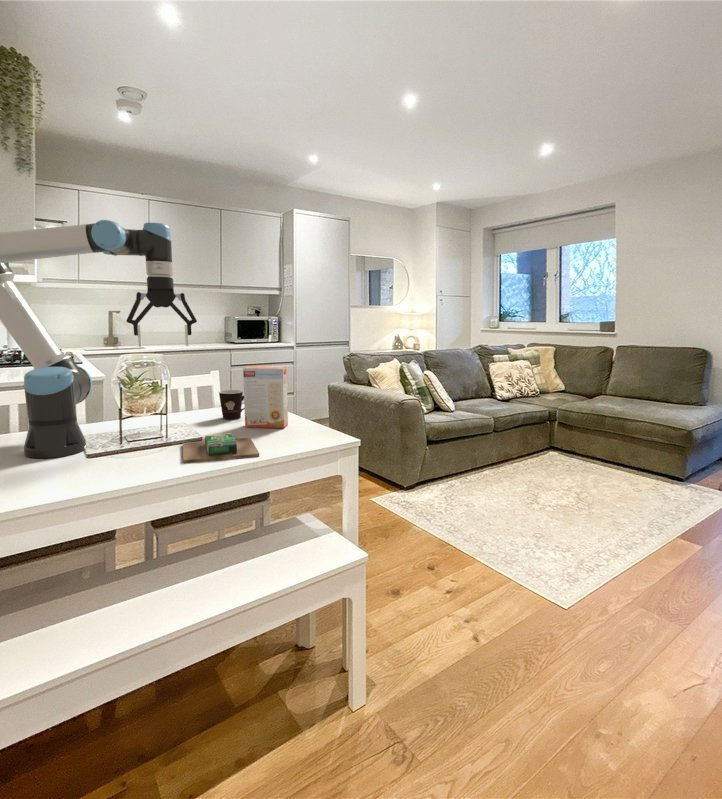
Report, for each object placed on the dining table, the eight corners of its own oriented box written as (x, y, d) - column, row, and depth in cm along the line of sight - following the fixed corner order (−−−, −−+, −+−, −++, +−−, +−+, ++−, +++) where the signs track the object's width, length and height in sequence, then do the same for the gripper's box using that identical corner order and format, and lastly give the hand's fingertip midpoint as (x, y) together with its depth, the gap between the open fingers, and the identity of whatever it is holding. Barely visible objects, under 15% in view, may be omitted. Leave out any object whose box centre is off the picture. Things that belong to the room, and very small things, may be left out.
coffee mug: (215, 419, 183) (214, 392, 182) (228, 414, 191) (227, 389, 190) (243, 421, 180) (242, 394, 178) (254, 417, 188) (254, 391, 186)
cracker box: (288, 424, 176) (287, 366, 173) (284, 429, 170) (283, 368, 167) (250, 423, 178) (248, 365, 174) (244, 427, 172) (242, 367, 168)
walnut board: (183, 463, 132) (183, 460, 132) (182, 445, 149) (182, 442, 149) (259, 456, 139) (259, 453, 139) (250, 440, 156) (250, 437, 156)
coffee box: (206, 446, 135) (204, 434, 147) (207, 456, 136) (205, 444, 148) (236, 443, 138) (232, 432, 150) (237, 453, 138) (232, 441, 151)
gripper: (113, 274, 144) (118, 347, 148) (203, 277, 153) (206, 346, 157) (116, 275, 151) (121, 345, 155) (202, 278, 160) (205, 344, 163)
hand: (164, 346), depth 156 cm, fingers open, 13 cm apart
